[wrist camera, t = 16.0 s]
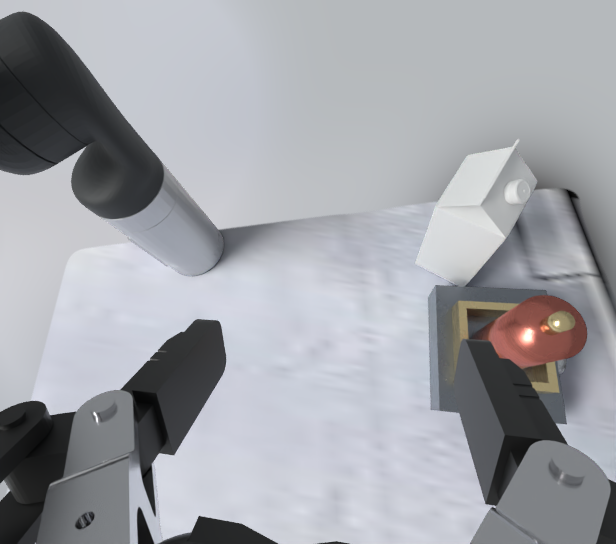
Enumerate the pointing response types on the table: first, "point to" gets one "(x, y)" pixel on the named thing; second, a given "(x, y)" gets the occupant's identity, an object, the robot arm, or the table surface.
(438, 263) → the milk carton
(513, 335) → the red bottle
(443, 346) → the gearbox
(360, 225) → the table surface
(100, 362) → the table surface
